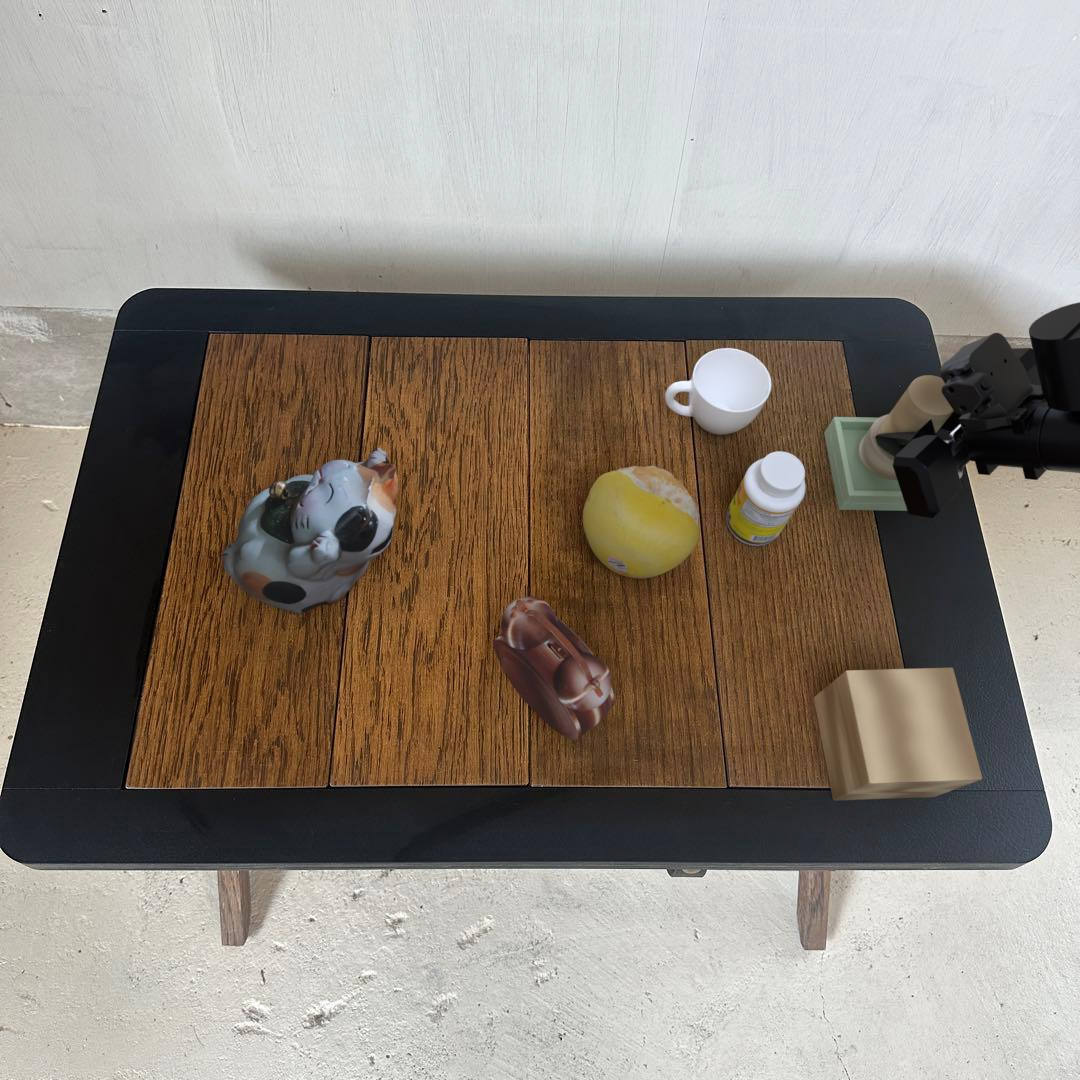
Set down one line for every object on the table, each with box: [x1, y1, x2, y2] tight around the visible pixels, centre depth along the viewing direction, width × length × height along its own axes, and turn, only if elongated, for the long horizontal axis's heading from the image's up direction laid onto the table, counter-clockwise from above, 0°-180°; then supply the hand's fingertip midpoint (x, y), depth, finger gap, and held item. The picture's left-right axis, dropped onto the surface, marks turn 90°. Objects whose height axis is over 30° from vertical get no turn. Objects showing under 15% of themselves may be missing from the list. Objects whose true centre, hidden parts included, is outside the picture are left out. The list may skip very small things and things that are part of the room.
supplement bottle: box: [726, 450, 806, 547], centre depth 79 cm, size 6×6×10 cm
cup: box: [664, 347, 772, 436], centre depth 86 cm, size 8×10×7 cm
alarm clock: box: [492, 596, 616, 741], centre depth 68 cm, size 11×5×15 cm, turn 42°
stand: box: [813, 667, 983, 802], centre depth 71 cm, size 9×9×8 cm
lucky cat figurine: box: [221, 447, 399, 615], centre depth 75 cm, size 15×12×14 cm
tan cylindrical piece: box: [859, 374, 954, 480], centre depth 80 cm, size 6×6×10 cm
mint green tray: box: [823, 416, 908, 512], centre depth 86 cm, size 9×9×3 cm
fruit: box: [582, 465, 701, 579], centre depth 78 cm, size 10×11×10 cm
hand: (892, 426), depth 81 cm, fingers closed on tan cylindrical piece, 4 cm apart
